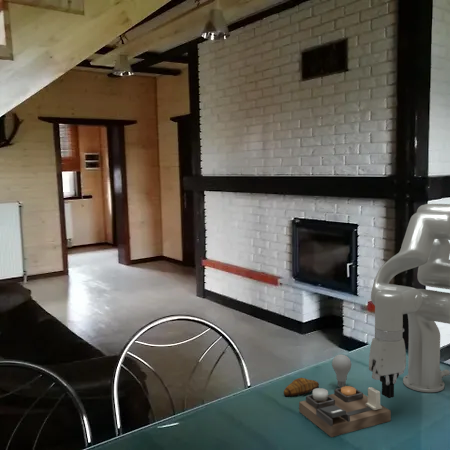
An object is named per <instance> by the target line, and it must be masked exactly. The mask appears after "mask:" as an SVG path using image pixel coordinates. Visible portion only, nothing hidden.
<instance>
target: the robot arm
mask: <svg viewBox="0 0 450 450" xmlns="http://www.w3.org/2000/svg"><path fill="white" fill-rule="evenodd" d="M400 247H401V248H400V250H399V252H398V253H396V254H395V255H393V256H392V257H391V258H389V259H387V261H386V262H385V263H384V264H383V265H382V266H380V268H379V269H378V271H377V272H376V276H375V279H374V281H373V284H372V288H371V292H370V293H371V294H370V300H371V302H372V305H374V337H373V338H372V340H371V343H370V349H369V356H368V358H369V359H368V370H369V371H370V372H372V375H371V378H372V379H373V380H376V381H380V382H381V395H382V396H384V397H385V398H387V399H391V398H394V397H395V384H396V383H397V379H398V378H399V376H401V375H404V373H405V369H406V366H408V367H407V369H408V371H407V372H408V373H407V375H405V376H403V378H402V383H403V385H404V386H405V387H407V388H409V389H410V390H413V391H417V392H420V393H437V392H441V391H443V390H444V389H445V382H444V381H443V380H442V379H443V378H444V377H448V376H450V370H449V369H443V370H441V369H440V368H441V367H440V365H441V364H440V363H441V362H440V361H441V360H440V359H441V331H440V329H439V327H438V324H437V323H444V324H449V325H450V292H445V291H438V290H435V289H424V288H415V287H411V286H406V285H401V284H400V285H398V284H393V283H390V282H391V280H392V279H393V278H395V276H396V275H398V274H401V273H403V272H406V271H408V270H411V269H414V268H417V267H418V268H417V281H418V282H419V284H421V285H423V286H426V287H429V288H436V289H443V290H449V291H450V203H449V204H448V203H425V204H422V205H420V206H419V207H418V208H417V210H416V212H415V213H413V215H411V217H410V219H409V222H408V224H407V228H406V231H405V235H404V237H403V239H402V243H401V246H400ZM404 315H407V319H408V320H407V321H408V364H407V354H406V343H405V339H404V338H403V333H404V332H405V328H404V327H403V325H404V322H403V321H404V320H403V319H404ZM436 322H437V323H436Z"/></svg>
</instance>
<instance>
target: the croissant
mask: <svg viewBox="0 0 450 450" xmlns="http://www.w3.org/2000/svg"><path fill="white" fill-rule="evenodd" d="M316 388H320V383H319V381H316V380H313V379H309V378H308V379H307V378H306V377H305V378H304V377H299V378H298V377H297V378H296V379H293V380H292V382H290V383H289V384H288V385H287V386H286V387H285V388H284V390H283V396H285V397H295V396H296V397H298V396H301V395H307V394H309V393H311V392H313V390H314V389H316Z"/></svg>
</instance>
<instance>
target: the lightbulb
mask: <svg viewBox="0 0 450 450" xmlns="http://www.w3.org/2000/svg"><path fill="white" fill-rule="evenodd" d="M331 366H332V368H333V371H334V372H335V375H336V381H337V386H338V388H342V387H344V386H347V383H346V382H347V379H348V374H349V372H350V371H351V369H352V360H351V359H350V357H348V356H347V355H345V354H337V355H335V356H334V357H333V359H332V362H331Z"/></svg>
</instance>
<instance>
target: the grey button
mask: <svg viewBox="0 0 450 450" xmlns="http://www.w3.org/2000/svg"><path fill="white" fill-rule="evenodd" d="M312 394H313V399H315V400H318V401H324V400H327V399H328V395H329V391H328V390H327V389H326V388H323V387H322V388H321V387H318V388H316V389H314V390H313V391H312Z"/></svg>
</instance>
